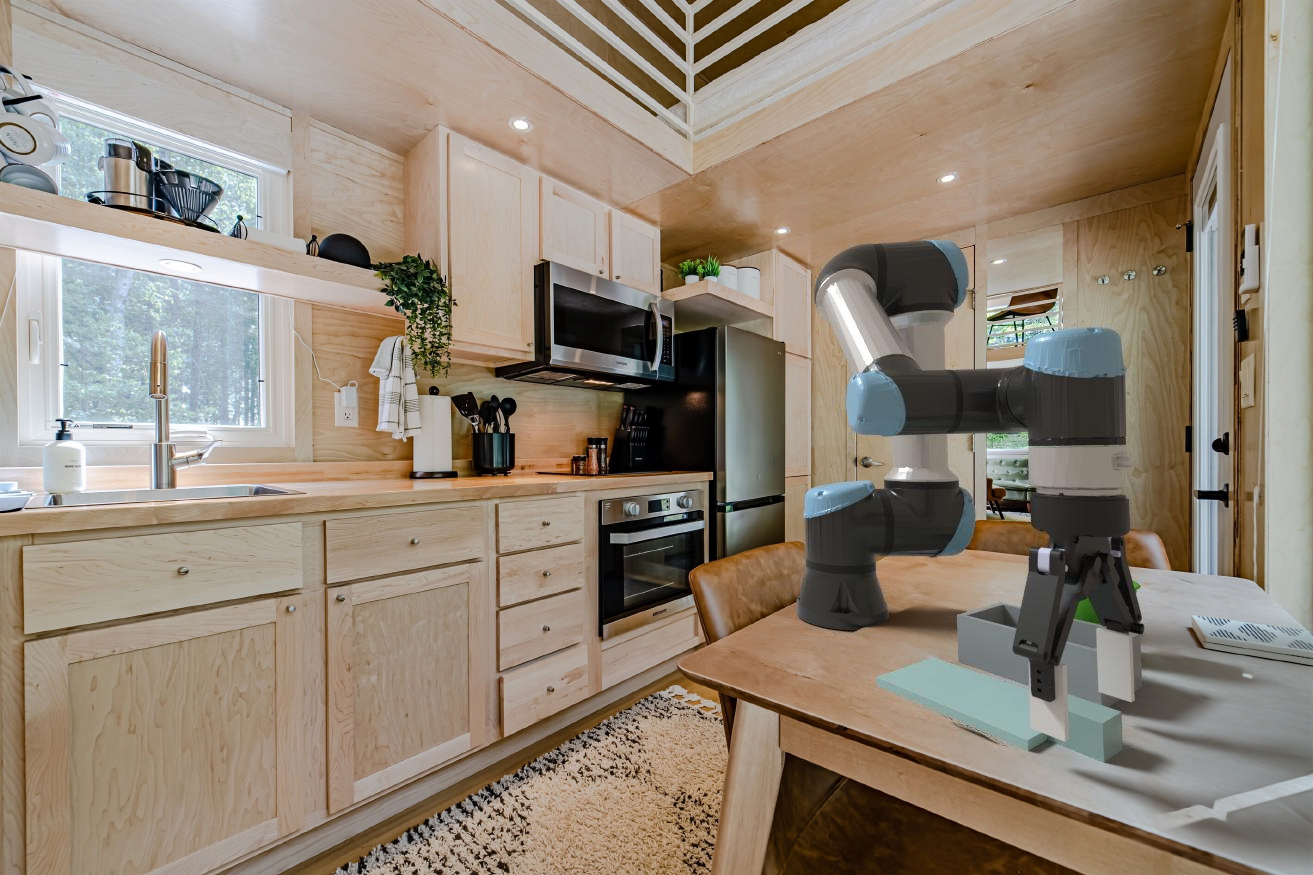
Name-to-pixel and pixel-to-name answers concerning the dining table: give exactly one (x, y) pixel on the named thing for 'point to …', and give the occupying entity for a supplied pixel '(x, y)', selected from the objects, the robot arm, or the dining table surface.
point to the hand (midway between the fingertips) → (1085, 714)
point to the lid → (1003, 707)
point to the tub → (992, 651)
